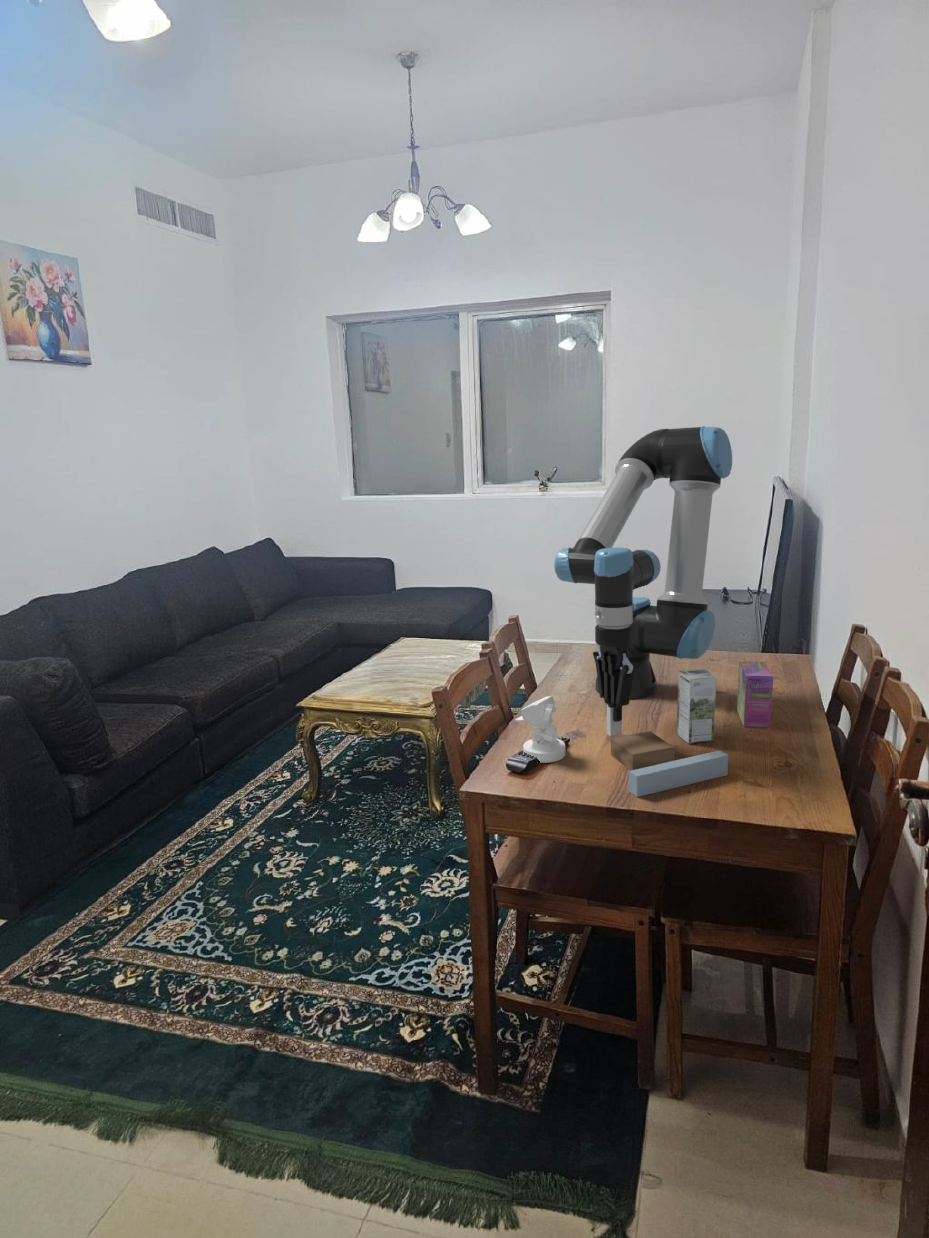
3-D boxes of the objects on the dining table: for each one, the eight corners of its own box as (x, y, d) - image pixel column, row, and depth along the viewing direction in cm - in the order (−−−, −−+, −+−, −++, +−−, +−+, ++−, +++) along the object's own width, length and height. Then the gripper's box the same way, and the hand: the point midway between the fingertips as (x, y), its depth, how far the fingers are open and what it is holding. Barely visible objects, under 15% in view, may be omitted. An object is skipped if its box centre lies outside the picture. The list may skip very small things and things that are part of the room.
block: (610, 756, 156) (610, 737, 155) (650, 749, 159) (650, 731, 158) (632, 773, 148) (632, 754, 147) (673, 766, 150) (674, 747, 149)
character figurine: (550, 766, 152) (549, 708, 150) (511, 756, 158) (509, 700, 155) (573, 751, 159) (572, 695, 156) (534, 741, 165) (532, 688, 162)
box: (771, 728, 166) (773, 675, 163) (743, 727, 167) (745, 675, 164) (763, 711, 176) (765, 661, 173) (736, 710, 177) (738, 661, 174)
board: (628, 791, 140) (628, 771, 139) (718, 769, 147) (719, 750, 146) (636, 797, 138) (636, 776, 137) (727, 774, 145) (728, 755, 144)
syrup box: (701, 731, 166) (702, 667, 162) (714, 741, 160) (716, 675, 157) (676, 734, 165) (677, 669, 161) (688, 745, 159) (690, 677, 156)
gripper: (581, 620, 161) (582, 726, 166) (615, 634, 149) (615, 747, 154) (612, 616, 164) (612, 721, 169) (648, 629, 152) (647, 741, 157)
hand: (614, 733), depth 162 cm, fingers closed
